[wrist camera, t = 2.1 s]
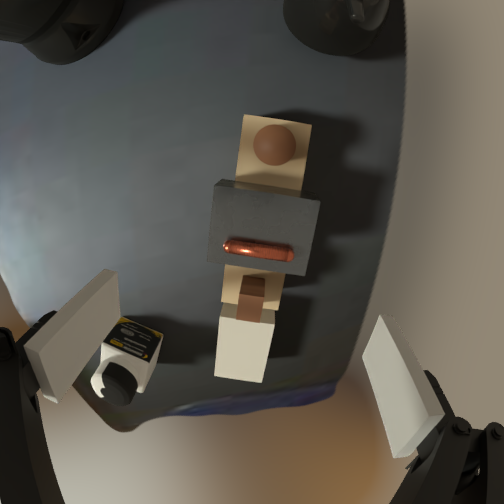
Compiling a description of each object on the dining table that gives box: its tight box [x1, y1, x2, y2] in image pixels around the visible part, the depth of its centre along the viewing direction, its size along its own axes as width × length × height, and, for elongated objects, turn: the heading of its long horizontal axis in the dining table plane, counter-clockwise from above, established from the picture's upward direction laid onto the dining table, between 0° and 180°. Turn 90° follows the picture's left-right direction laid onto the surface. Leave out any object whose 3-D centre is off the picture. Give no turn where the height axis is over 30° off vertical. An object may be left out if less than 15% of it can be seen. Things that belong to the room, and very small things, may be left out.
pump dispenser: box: [283, 0, 390, 56], centre depth 19 cm, size 10×10×15 cm
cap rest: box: [214, 302, 275, 383], centre depth 38 cm, size 10×6×5 cm, turn 172°
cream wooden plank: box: [221, 115, 312, 323], centre depth 30 cm, size 20×6×9 cm, turn 172°
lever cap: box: [207, 179, 321, 276], centre depth 27 cm, size 7×9×5 cm
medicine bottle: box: [91, 317, 163, 406], centre depth 37 cm, size 7×7×12 cm
